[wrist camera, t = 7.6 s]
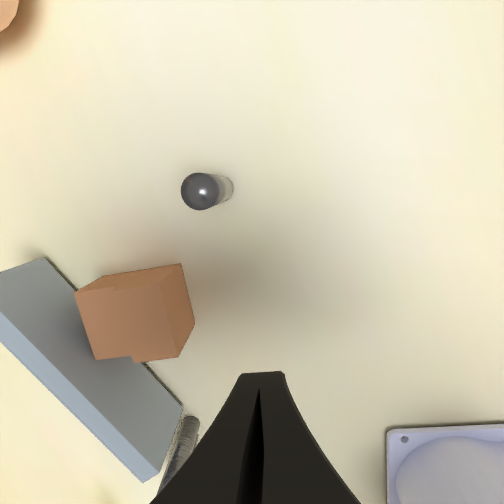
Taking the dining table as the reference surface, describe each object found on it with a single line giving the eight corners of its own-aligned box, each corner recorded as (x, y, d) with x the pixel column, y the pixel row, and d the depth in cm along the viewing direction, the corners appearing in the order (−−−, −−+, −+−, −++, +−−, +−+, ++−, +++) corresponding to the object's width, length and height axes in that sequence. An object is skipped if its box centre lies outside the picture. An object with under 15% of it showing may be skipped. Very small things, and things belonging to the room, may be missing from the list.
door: (44, 257, 18) (-30, 281, 13) (183, 408, 20) (159, 472, 15) (20, 278, 18) (-59, 308, 14) (159, 424, 20) (129, 491, 16)
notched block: (181, 262, 18) (158, 283, 14) (195, 322, 19) (178, 357, 15) (104, 275, 18) (62, 298, 15) (121, 333, 19) (86, 369, 16)
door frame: (234, 178, 16) (218, 175, 11) (195, 469, 21) (169, 572, 16) (210, 174, 16) (180, 169, 11) (176, 465, 21) (142, 568, 16)
